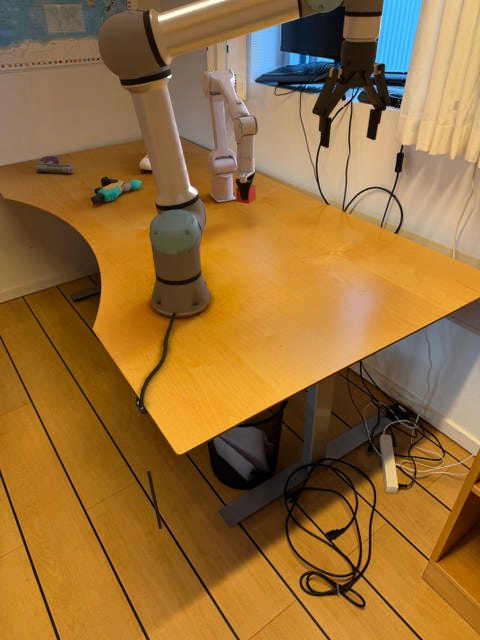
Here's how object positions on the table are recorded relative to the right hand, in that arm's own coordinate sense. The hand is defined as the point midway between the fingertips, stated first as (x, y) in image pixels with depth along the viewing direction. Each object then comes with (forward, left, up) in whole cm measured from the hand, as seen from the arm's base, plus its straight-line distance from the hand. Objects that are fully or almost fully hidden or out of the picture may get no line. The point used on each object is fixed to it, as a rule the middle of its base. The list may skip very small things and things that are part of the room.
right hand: (245, 196), depth 162 cm
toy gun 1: (-84, -56, -9) cm, 101 cm away
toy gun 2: (-43, -41, -9) cm, 60 cm away
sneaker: (-72, -13, -9) cm, 74 cm away
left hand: (+46, +7, +29) cm, 55 cm away
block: (0, 0, -2) cm, 2 cm away
